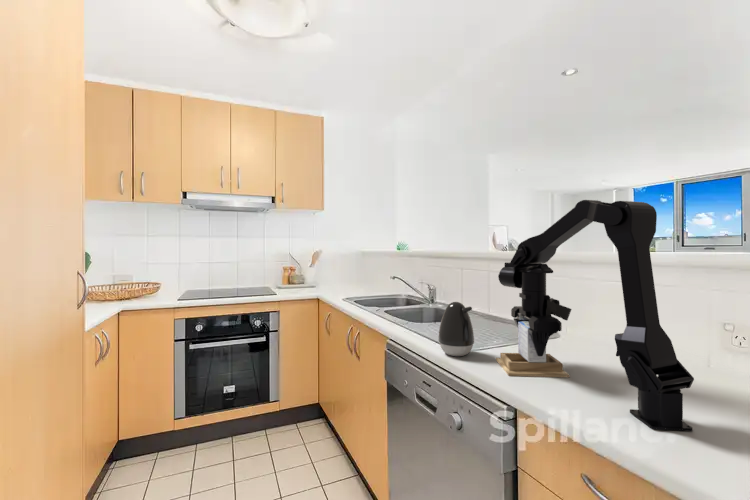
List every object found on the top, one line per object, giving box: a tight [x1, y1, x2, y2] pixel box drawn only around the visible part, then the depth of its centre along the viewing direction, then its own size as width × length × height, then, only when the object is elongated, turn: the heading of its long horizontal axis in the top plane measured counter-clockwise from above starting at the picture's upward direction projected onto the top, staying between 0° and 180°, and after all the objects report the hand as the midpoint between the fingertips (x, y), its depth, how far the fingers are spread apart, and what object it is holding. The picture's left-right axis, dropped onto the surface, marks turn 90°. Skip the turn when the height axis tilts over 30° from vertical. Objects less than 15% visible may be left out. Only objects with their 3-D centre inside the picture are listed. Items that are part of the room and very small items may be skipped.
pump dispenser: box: [437, 301, 475, 357], centre depth 103 cm, size 10×10×15 cm
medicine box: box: [517, 321, 547, 363], centre depth 90 cm, size 8×4×9 cm, turn 175°
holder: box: [495, 352, 570, 378], centre depth 90 cm, size 12×14×3 cm
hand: (534, 351), depth 90 cm, fingers open, 8 cm apart
